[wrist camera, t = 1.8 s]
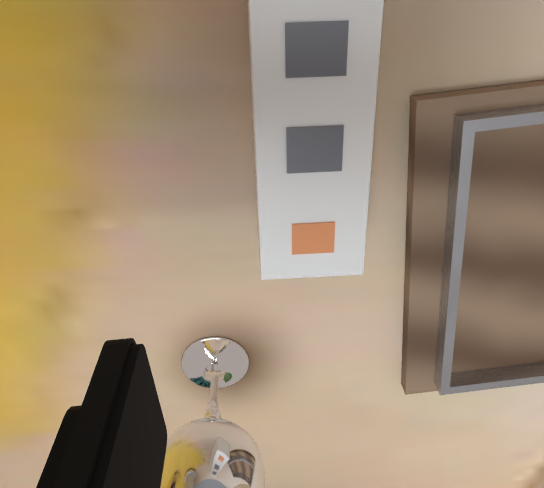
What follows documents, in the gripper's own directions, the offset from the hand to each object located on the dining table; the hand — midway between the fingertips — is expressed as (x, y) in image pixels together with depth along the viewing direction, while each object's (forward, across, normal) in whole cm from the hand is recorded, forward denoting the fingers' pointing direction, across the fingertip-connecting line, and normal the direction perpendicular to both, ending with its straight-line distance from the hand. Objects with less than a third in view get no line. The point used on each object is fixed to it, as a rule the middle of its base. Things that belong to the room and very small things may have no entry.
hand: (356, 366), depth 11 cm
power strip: (+17, -1, -1) cm, 17 cm away
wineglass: (+17, +6, +15) cm, 23 cm away
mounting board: (+17, -13, +8) cm, 23 cm away
